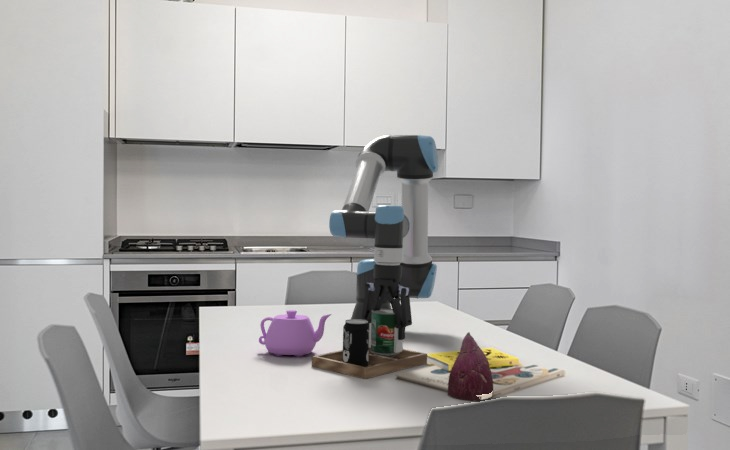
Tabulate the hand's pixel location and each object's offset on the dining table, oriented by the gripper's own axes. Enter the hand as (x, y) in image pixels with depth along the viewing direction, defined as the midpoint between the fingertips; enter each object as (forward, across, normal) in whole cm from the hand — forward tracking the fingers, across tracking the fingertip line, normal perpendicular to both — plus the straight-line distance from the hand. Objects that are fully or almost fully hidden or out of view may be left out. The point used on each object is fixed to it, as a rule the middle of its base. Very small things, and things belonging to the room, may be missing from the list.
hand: (385, 349), depth 189 cm
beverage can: (+3, 0, -12) cm, 13 cm away
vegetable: (+3, +34, -12) cm, 36 cm away
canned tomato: (+1, 0, 0) cm, 1 cm away
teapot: (+3, -23, -11) cm, 26 cm away
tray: (+3, 0, -6) cm, 7 cm away
